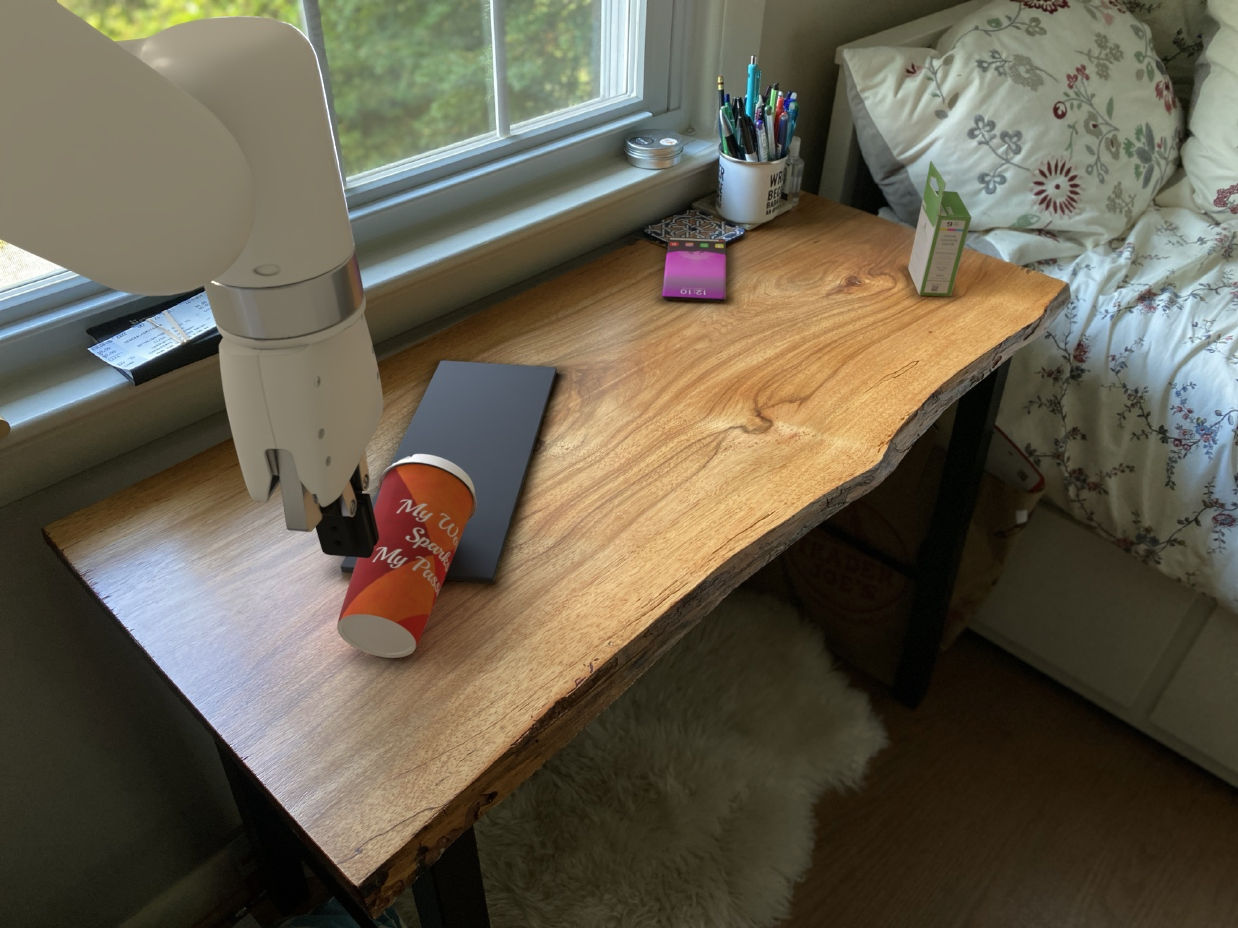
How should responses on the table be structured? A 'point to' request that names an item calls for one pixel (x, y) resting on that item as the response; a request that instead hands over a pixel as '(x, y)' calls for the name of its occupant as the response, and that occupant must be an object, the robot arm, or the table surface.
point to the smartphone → (695, 269)
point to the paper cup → (406, 555)
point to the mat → (480, 448)
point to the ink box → (938, 239)
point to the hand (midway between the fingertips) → (351, 547)
